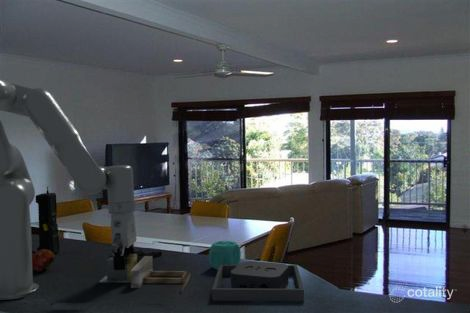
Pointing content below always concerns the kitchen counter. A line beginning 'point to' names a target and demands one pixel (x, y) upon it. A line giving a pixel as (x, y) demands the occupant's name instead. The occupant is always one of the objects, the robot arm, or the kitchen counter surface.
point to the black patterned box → (141, 254)
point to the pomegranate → (42, 260)
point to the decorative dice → (224, 254)
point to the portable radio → (48, 222)
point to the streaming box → (259, 275)
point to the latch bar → (121, 274)
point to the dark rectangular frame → (256, 289)
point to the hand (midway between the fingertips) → (124, 264)
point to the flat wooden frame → (145, 271)
